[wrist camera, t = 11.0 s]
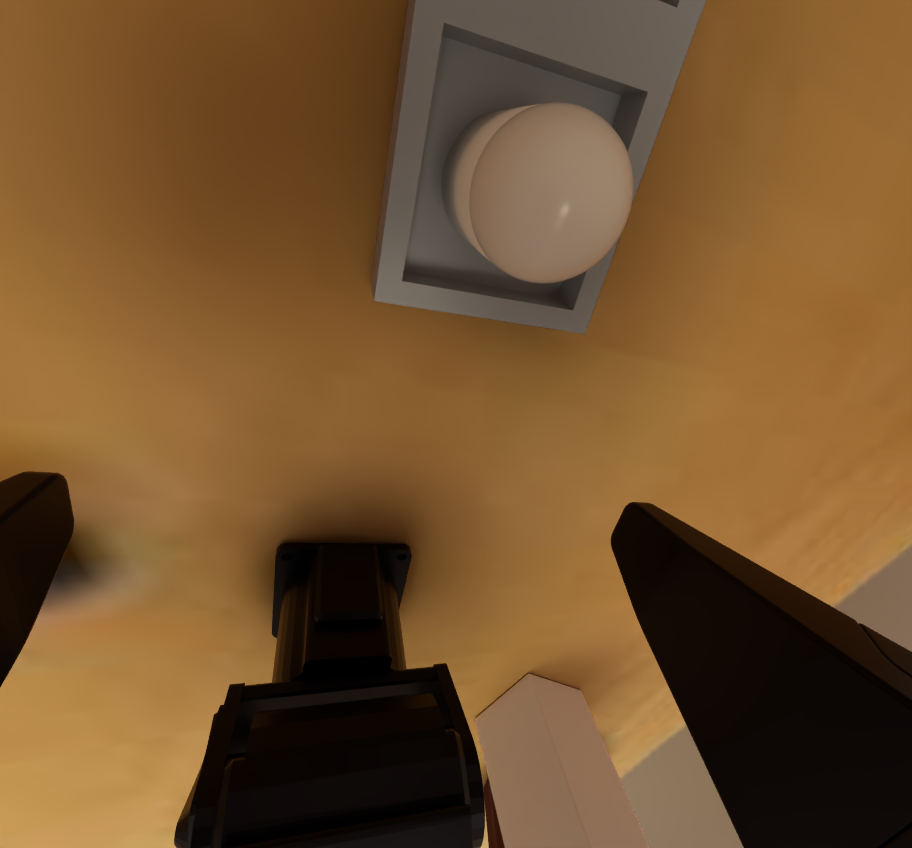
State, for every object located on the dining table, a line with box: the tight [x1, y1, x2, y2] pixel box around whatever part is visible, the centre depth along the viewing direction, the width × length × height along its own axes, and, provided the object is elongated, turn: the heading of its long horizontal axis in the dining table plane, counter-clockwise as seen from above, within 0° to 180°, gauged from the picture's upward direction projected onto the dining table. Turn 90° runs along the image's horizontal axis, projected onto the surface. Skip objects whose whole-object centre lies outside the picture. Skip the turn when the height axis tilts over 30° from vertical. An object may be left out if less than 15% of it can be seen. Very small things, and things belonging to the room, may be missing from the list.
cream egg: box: [442, 102, 633, 283], centre depth 14 cm, size 4×4×6 cm
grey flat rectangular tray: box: [371, 0, 706, 334], centre depth 14 cm, size 17×8×2 cm, turn 167°
